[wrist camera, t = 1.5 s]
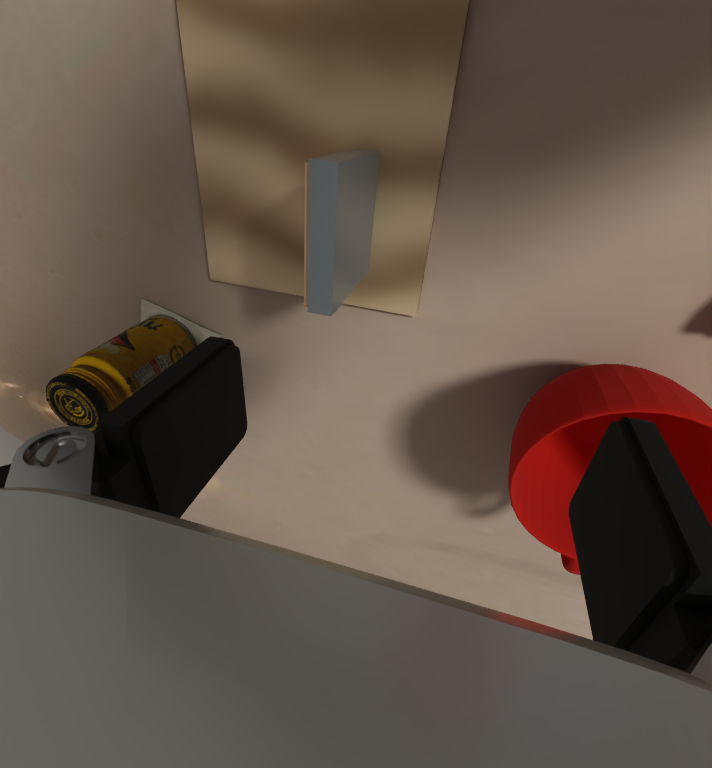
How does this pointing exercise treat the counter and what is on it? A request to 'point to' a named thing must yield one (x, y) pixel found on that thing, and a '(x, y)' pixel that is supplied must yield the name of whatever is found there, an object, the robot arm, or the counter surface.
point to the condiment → (122, 366)
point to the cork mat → (318, 128)
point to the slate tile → (338, 226)
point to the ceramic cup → (598, 442)
